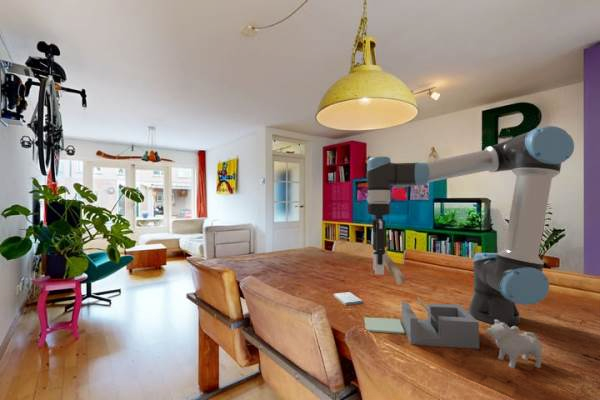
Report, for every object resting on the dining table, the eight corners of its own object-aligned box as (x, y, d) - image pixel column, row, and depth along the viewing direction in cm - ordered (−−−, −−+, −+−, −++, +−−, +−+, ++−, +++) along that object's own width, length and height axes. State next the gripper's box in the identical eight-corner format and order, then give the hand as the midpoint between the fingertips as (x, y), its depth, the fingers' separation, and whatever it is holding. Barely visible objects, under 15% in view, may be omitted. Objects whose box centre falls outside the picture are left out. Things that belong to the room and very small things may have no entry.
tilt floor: (441, 330, 91) (445, 328, 91) (447, 337, 86) (451, 335, 86) (416, 297, 92) (420, 295, 92) (420, 303, 87) (424, 300, 87)
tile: (395, 280, 98) (402, 275, 97) (398, 285, 92) (406, 280, 91) (374, 251, 99) (381, 246, 99) (376, 254, 93) (384, 249, 93)
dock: (460, 327, 94) (459, 304, 94) (479, 348, 80) (478, 322, 81) (401, 324, 97) (401, 302, 97) (410, 344, 84) (410, 318, 84)
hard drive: (363, 300, 118) (350, 291, 130) (345, 302, 116) (333, 293, 128) (363, 304, 118) (350, 295, 130) (345, 306, 116) (333, 296, 128)
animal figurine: (482, 357, 76) (481, 317, 76) (529, 356, 76) (528, 316, 77) (496, 368, 71) (495, 326, 71) (546, 367, 71) (545, 325, 71)
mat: (399, 320, 100) (399, 319, 100) (404, 333, 90) (404, 332, 90) (364, 318, 102) (364, 317, 102) (365, 331, 92) (365, 329, 92)
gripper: (365, 203, 106) (365, 265, 106) (369, 203, 87) (369, 278, 87) (386, 203, 105) (386, 265, 105) (394, 203, 86) (394, 279, 86)
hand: (378, 271), depth 96 cm, fingers closed on tile, 6 cm apart
